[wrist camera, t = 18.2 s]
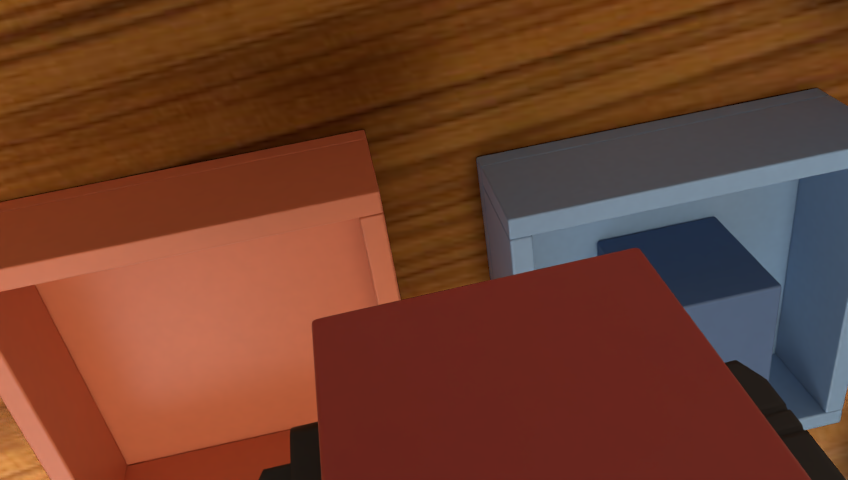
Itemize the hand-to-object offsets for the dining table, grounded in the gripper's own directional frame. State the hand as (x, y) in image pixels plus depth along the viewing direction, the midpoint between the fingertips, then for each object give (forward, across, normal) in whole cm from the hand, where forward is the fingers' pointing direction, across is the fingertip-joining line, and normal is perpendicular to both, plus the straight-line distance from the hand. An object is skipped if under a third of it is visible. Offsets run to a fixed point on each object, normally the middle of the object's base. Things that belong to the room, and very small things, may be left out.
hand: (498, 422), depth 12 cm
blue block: (+16, -10, +11) cm, 22 cm away
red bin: (+17, +8, +9) cm, 21 cm away
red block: (0, 0, 0) cm, 0 cm away
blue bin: (+17, -10, +11) cm, 23 cm away
